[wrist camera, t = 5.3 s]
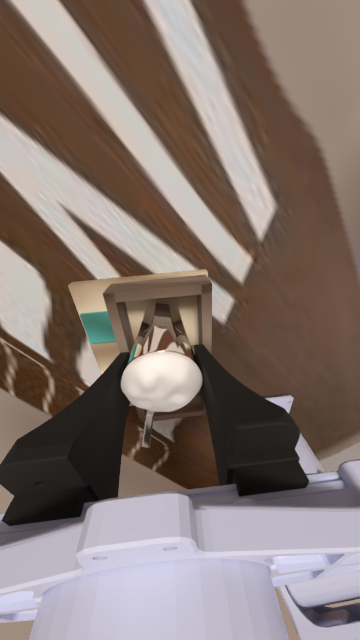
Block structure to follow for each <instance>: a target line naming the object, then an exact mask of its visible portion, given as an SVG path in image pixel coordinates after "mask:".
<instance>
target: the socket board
mask: <svg viewBox="0 0 360 640" xmlns="http://www.w3.org/2000/svg"><path fill="white" fill-rule="evenodd" d="M68 287H69V289H70V292H71V295H72V297H73V300H74V303H75V305H76V308H77V311H78V313H79V316H80V319H81V321H82V324H83V326H84V329H85V332H86V334H87V337H88V340H89V342H90V345H91V348H92V350H93V353H94V356H95V358H96V361H97V363H98V366H99V369H100V371H101V374H103V373H104V371H105V370H106V369H107V368H108V367H109V366H110V364H111V363H112V362H113V361H114V360H115V358H116V357H117V356H118V355H119V354H120V353H123V352H129V354H130V353H131V350H132V347H133V345H134V343H135V340H136V338H137V335H138V332H139V328H140V325H141V322H142V318H143V315H144V312H145V309H146V306H147V304H148V303H149V302H151V301H152V300H154V299H157V298H169V299H170V300H172V301H173V302H175V303H176V304H177V306H178V309H179V312H180V316H181V319H182V322H183V325H184V329H185V332H186V335H187V337H188V340H189V342H190V344H191V347H192V350H193V352H194V345H198V344H203V345H205V347H206V348H207V350H208V351H209V352H210V353H211V354H212V283H211V281H210V280H209V279H208V272H207V271H206V269H204V270H194V271H183V272H173V273H162V274H152V275H141V276H131V277H120V278H110V279H99V280H89V281H78V282H72V283H71V284H69V285H68ZM194 355H195V352H194ZM129 406H134V405H133V404H132V403H131V402H130V405H129ZM136 410H137V413H138V417H139V420H140V422H145V419H146V413H147V410H146V409H143V408H139V407H136ZM200 415H207V412H206V408H205V405H204V401H203V398H202V394H201V391H200V390H199V391H198V393H197V394H196V395H195V397H194V398H193V399H192V400H191V401H190V402H189V403H188V404H187V405H185V406H184V407H182V408H180V409H177V410H175V411H171V412H154V417H153V421H157V420H166V419H174V418H183V417H192V416H200Z"/></svg>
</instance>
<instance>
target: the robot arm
mask: <svg viewBox="0 0 360 640" xmlns="http://www.w3.org/2000/svg"><path fill="white" fill-rule="evenodd" d="M194 352H195V358H196V361H197V363H198V366H199V369H200V371H201V374H202V386H201V388H200V391H201V394H202V398H203V401H204V405H205V408H206V412H207V416H208V421H209V426H210V432H211V437H212V443H213V448H214V454H215V459H216V465H217V471H218V477H219V483H220V486H215V487H207V488H199V489H191V490H183V491H170V492H169V491H165V492H157V493H149V494H141V495H133V496H126V497H118V488H119V475H120V465H121V455H122V446H123V438H124V430H125V424H126V418H127V414H128V410H129V405H130V401H129V399H128V398H127V397H126V395H125V394H124V393H123V391H122V389H121V379H122V375H123V372H124V369H125V367H126V364H127V361H128V358H129V356H130V354H129V352H123V353H120V354H119V355H118V356H117V357H116V358H115V360H114V361H113V362H112V363H111V364H110V366H109V367H108V368H107V369H106V370H105V371H104V373H103V374H102V375H101V376H100V377H99V378H98V379H97V380H96V381H95V382H94V383H93V384H92V385H91V386H90V387H89V388H88V389H87V390H86V391H85V392H84V393H83V394H82V395H81V396H80V397H78V398H77V399H76V400H75V401H73V402H72V403H71V404H70V405H68V406H67V407H66V408H65V409H63V410H62V411H61V412H59V413H58V414H57V415H55V416H54V417H52V418H51V419H50V420H48V421H46V422H45V423H43V424H42V425H40V426H39V427H37V428H36V429H34V430H32V431H31V432H29V433H27V434H26V435H24V436H23V437H21V438H19V439H17V441H16V442H15V444H14V445H13V447H12V448H11V450H10V451H9V453H8V454H7V455H6V457H5V459H4V460H3V461H2V463H1V464H0V484H1V485H2V486H3V487H4V488H6V489H7V490H8V491H9V492H10V493H11V494H13V495H14V498H13V500H12V502H11V503H10V505H9V507H8V509H7V511H6V513H1V514H0V623H4V622H17V621H28V620H35V621H34V624H33V627H32V630H31V633H30V637H29V640H289V637H288V633H287V630H286V627H285V623H284V620H283V617H282V613H281V610H280V607H279V603H278V600H277V596H276V593H275V590H274V587H277V589H278V591H279V592H280V594H281V596H282V598H283V601H284V603H285V605H286V608H287V610H288V612H289V615H290V618H291V620H292V622H293V625H294V628H295V630H296V633H297V634H298V636H299V638H300V640H360V603H355V604H350V605H345V606H340V607H335V608H331V607H325V605H330V604H335V603H340V602H345V601H350V600H355V599H360V459H358V460H350V461H346V462H344V463H342V464H341V465H340V466H339V468H338V471H333V472H325V471H324V469H323V467H322V466H321V464H320V463H319V461H318V460H317V458H316V456H315V455H314V453H313V452H312V450H311V449H310V447H309V445H308V444H307V442H306V441H305V439H304V438H303V436H302V434H301V433H300V430H299V428H298V426H297V425H296V423H295V422H294V420H293V419H292V417H291V416H290V415H289V411H290V408H291V405H292V402H293V397H292V396H290V395H289V396H280V397H271V398H263V397H262V396H260V395H258V394H256V393H255V392H253V391H252V390H250V389H249V388H247V387H246V386H244V385H243V384H242V383H240V382H239V381H238V380H237V379H235V378H234V377H233V376H232V375H231V374H229V373H228V372H227V371H226V370H225V369H224V368H223V367H222V366H221V365H220V364H219V363H218V362H217V360H216V359H215V358H214V357H213V356H212V355H211V353H210V352H209V351H208V350H207V348H206V347H205V345H203V344H198V345H194Z"/></svg>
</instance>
